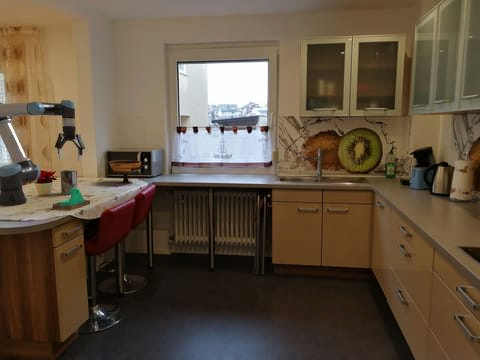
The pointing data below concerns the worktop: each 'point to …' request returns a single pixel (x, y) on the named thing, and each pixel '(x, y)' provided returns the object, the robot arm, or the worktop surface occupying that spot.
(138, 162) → the footed fruit bowl
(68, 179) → the coffee box
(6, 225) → the worktop surface
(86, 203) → the pocket tray
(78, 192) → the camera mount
